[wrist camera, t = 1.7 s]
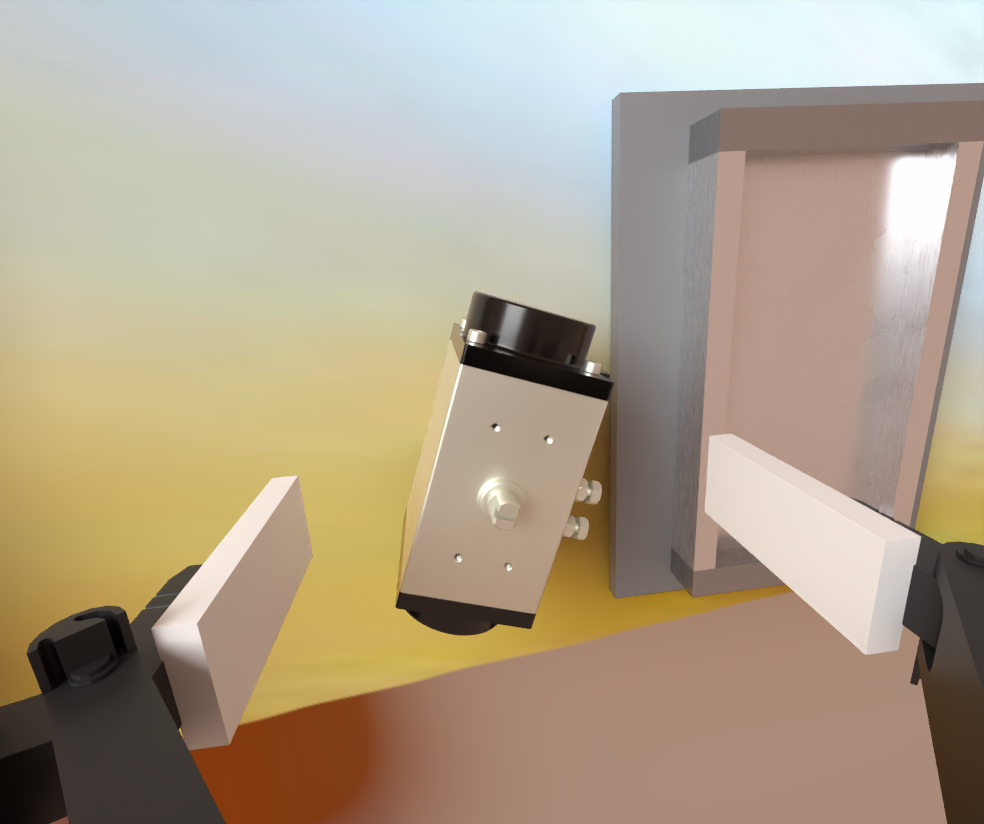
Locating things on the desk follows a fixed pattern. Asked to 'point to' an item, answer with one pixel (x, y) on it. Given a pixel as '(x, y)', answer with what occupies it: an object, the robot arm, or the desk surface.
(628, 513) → the mounting board
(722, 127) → the shallow rectangular tray
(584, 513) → the desk surface
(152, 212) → the desk surface
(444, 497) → the pneumatic valve
